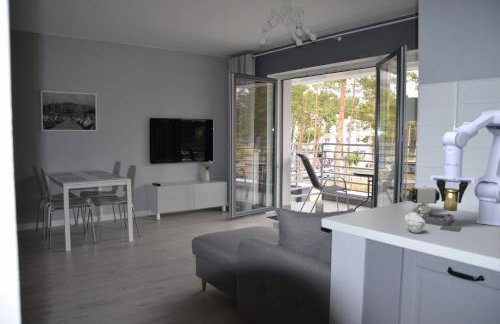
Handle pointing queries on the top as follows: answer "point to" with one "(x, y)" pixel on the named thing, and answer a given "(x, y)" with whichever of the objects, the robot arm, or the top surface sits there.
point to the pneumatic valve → (424, 198)
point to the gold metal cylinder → (451, 199)
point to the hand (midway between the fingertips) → (451, 201)
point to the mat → (450, 228)
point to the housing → (437, 218)
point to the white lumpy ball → (414, 222)
